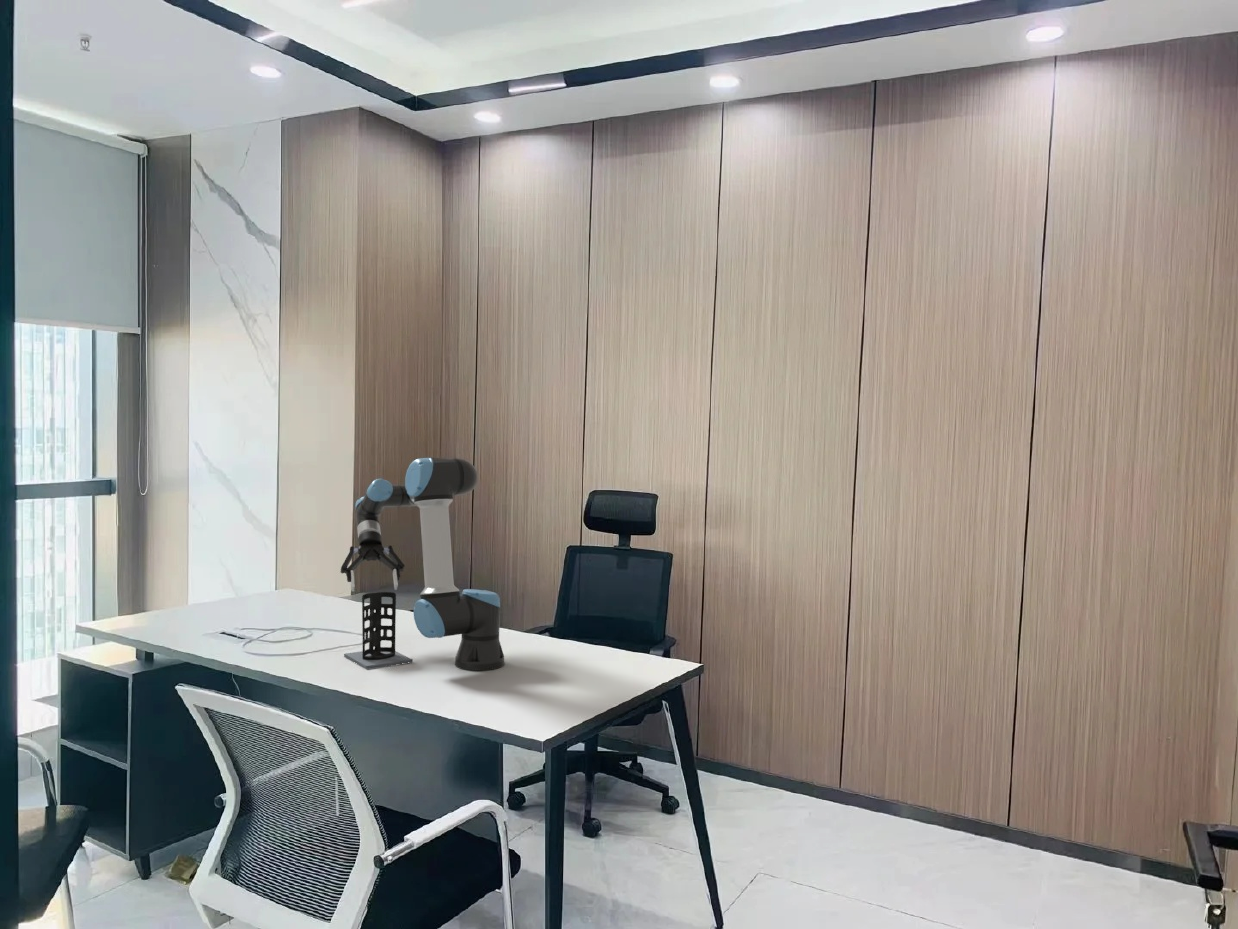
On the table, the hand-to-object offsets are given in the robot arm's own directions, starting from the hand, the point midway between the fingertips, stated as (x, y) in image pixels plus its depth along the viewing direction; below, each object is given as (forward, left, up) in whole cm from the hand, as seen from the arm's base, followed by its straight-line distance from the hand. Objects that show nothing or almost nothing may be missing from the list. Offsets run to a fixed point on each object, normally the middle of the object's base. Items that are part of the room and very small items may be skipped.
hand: (374, 588), depth 288 cm
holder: (-9, +3, -20) cm, 22 cm away
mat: (-9, +2, -21) cm, 23 cm away
